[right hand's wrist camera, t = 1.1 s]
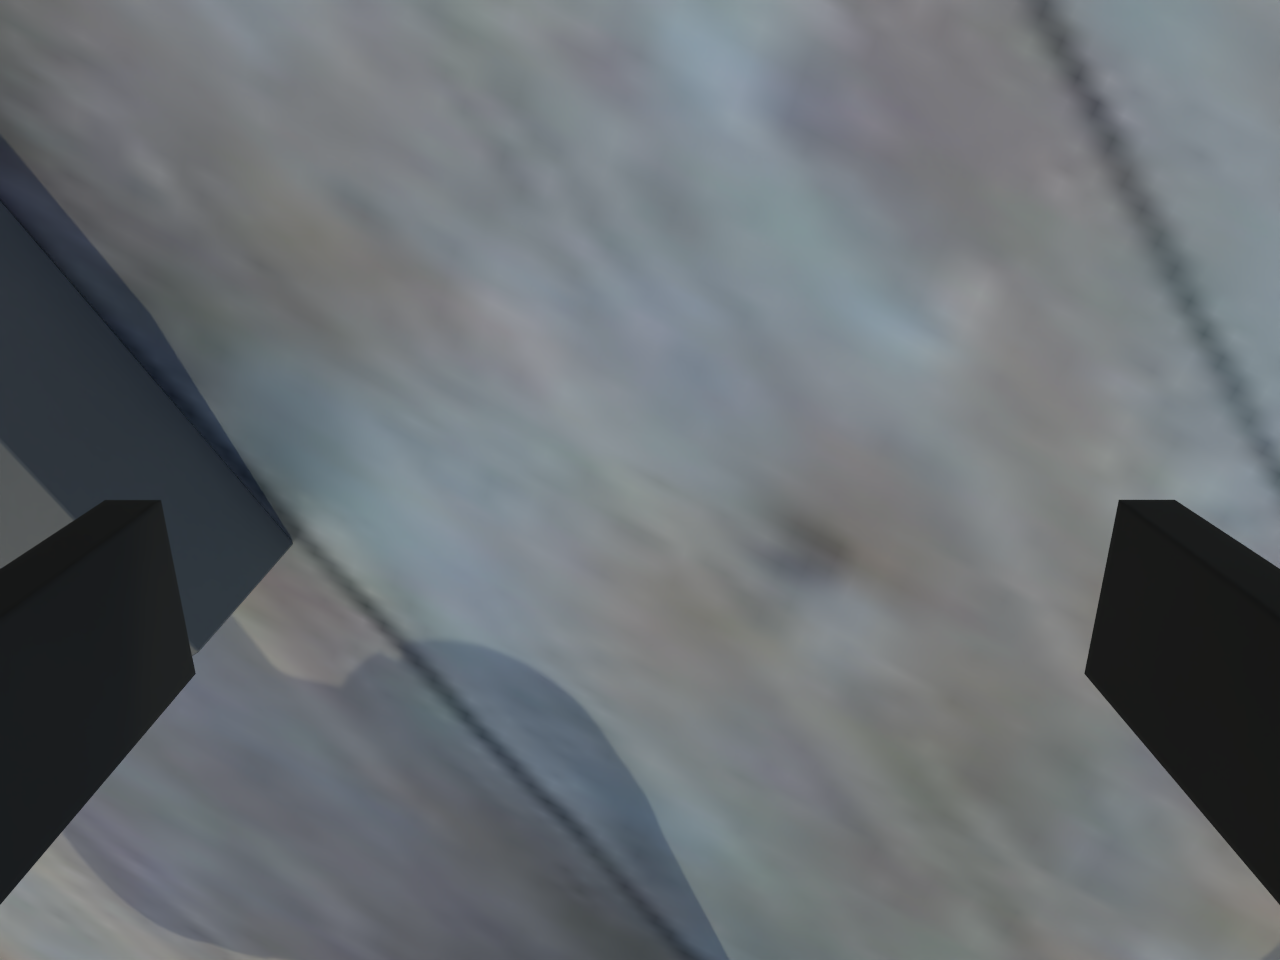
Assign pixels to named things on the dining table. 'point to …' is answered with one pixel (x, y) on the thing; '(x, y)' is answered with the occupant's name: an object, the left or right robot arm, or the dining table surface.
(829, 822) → the dining table surface
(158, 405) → the bar
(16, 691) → the right robot arm
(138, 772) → the dining table surface
